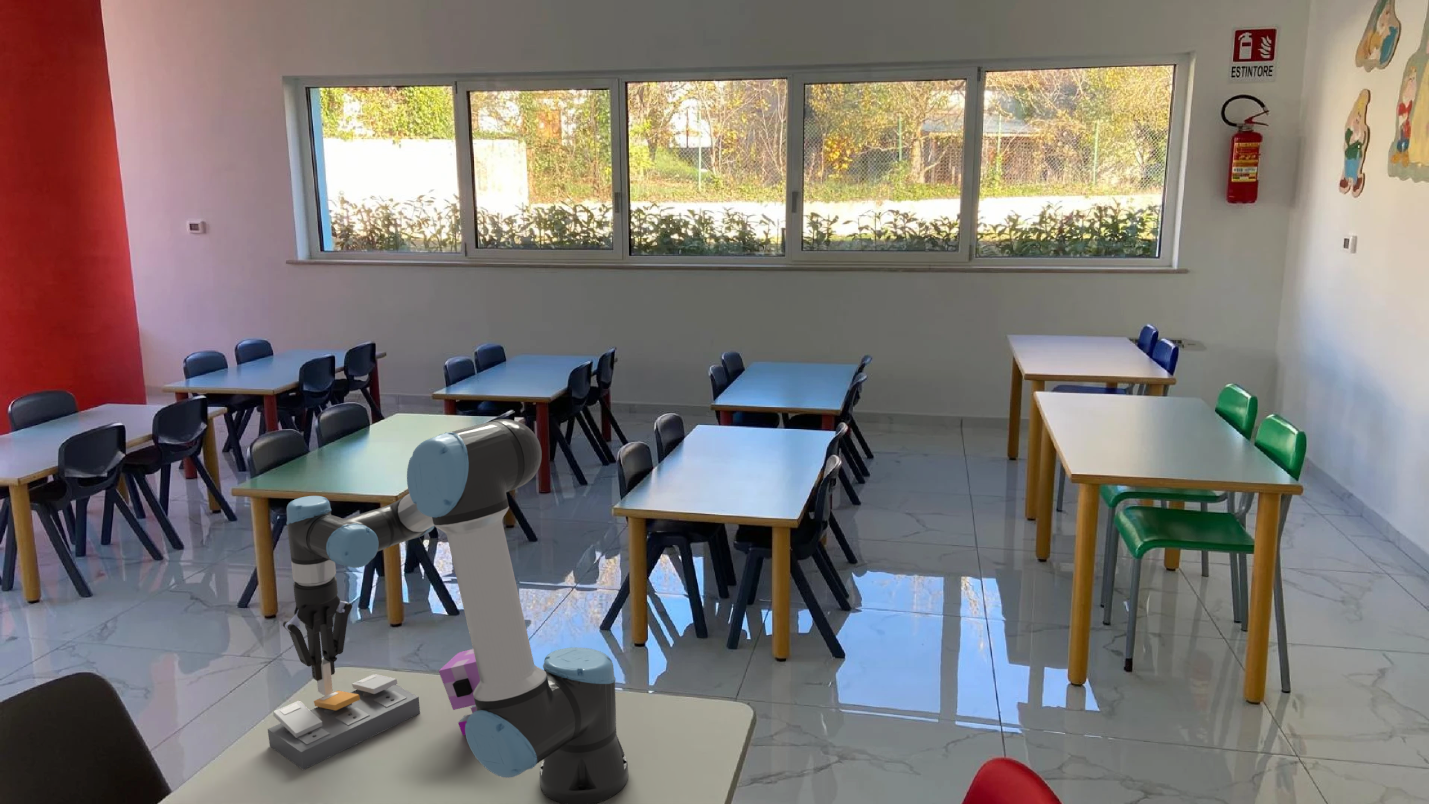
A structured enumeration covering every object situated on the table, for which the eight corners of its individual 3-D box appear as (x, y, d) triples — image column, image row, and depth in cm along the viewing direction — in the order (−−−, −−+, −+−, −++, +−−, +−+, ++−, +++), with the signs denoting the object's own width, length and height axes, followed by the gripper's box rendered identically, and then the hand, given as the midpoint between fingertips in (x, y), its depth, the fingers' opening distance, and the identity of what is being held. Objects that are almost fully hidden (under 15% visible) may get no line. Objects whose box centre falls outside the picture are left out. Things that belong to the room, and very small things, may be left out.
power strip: (420, 713, 191) (418, 693, 190) (303, 769, 173) (300, 748, 172) (385, 693, 198) (383, 674, 198) (269, 746, 180) (267, 725, 179)
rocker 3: (397, 683, 192) (396, 678, 192) (374, 694, 188) (373, 688, 188) (375, 678, 197) (374, 673, 197) (352, 688, 193) (351, 683, 193)
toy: (500, 739, 180) (472, 665, 178) (462, 747, 182) (435, 674, 180) (523, 711, 190) (497, 640, 188) (487, 719, 192) (461, 649, 190)
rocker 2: (360, 699, 186) (358, 693, 186) (335, 710, 182) (334, 704, 182) (339, 695, 191) (337, 689, 191) (314, 706, 187) (313, 700, 187)
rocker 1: (322, 726, 180) (322, 721, 179) (296, 737, 176) (296, 732, 176) (299, 704, 184) (299, 699, 184) (273, 715, 181) (273, 710, 180)
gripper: (336, 562, 190) (346, 672, 196) (270, 584, 180) (282, 699, 186) (357, 572, 186) (366, 685, 191) (291, 595, 176) (303, 713, 181)
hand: (325, 692), depth 189 cm, fingers closed
